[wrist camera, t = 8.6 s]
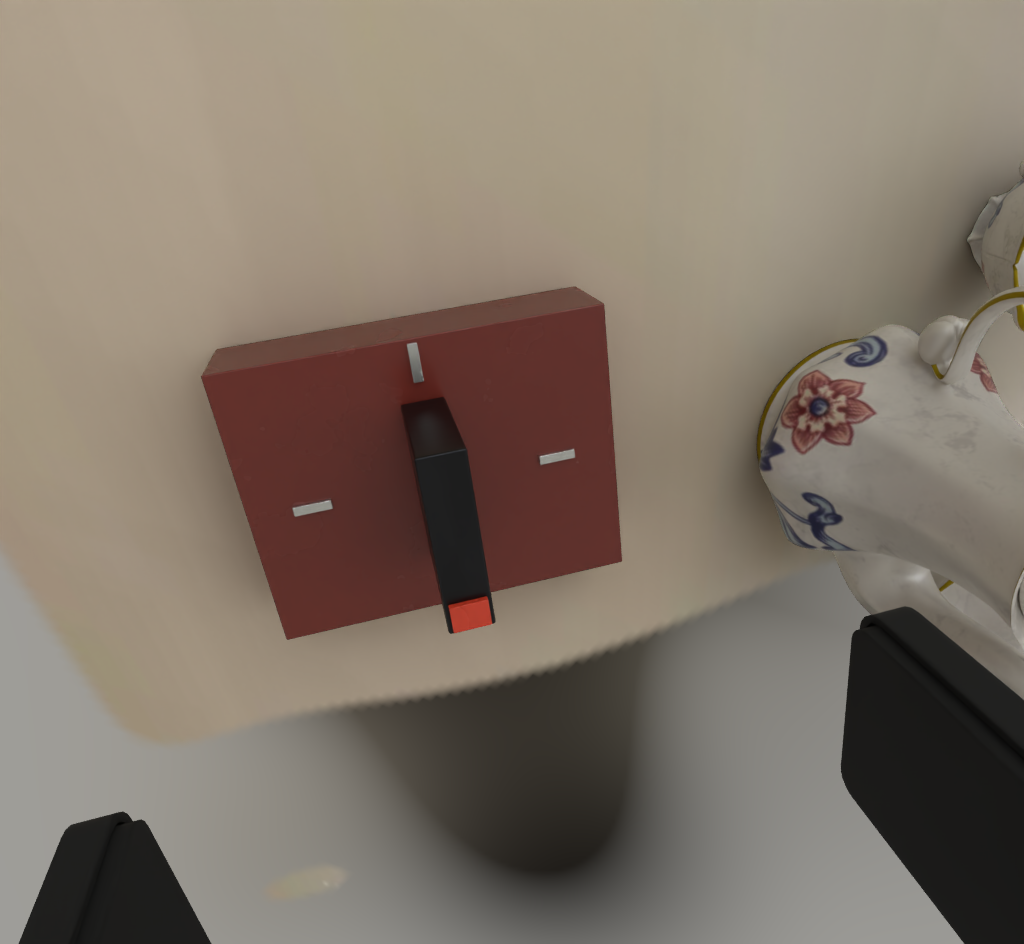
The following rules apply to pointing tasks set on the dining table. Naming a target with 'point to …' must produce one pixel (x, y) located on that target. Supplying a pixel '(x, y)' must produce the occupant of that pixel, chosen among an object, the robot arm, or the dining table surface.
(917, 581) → the chinaware
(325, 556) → the rotary switch block
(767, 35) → the dining table surface
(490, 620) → the black rectangular block
